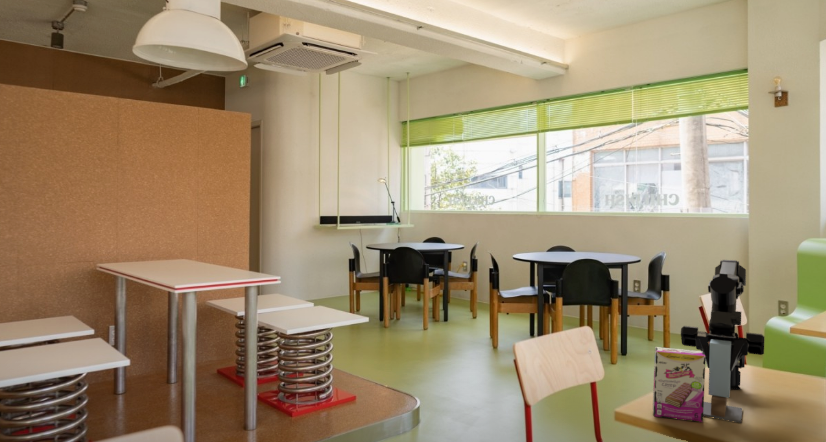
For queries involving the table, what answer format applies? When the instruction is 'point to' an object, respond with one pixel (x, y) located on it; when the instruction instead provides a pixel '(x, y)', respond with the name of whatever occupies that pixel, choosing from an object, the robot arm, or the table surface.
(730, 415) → the mat
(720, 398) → the ridge
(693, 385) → the candy bar box
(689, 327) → the robot arm
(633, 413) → the table surface
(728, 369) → the block
